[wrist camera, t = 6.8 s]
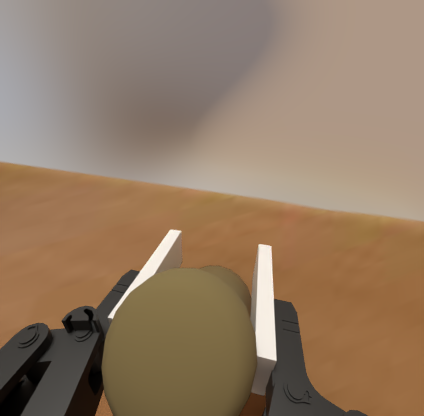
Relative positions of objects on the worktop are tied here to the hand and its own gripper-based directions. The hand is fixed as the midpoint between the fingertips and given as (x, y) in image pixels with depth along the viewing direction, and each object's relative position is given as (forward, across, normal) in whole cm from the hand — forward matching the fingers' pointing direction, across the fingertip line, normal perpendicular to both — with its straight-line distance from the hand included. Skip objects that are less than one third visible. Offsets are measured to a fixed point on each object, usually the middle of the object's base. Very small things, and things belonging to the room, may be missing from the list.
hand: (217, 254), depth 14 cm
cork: (0, 0, -5) cm, 5 cm away
